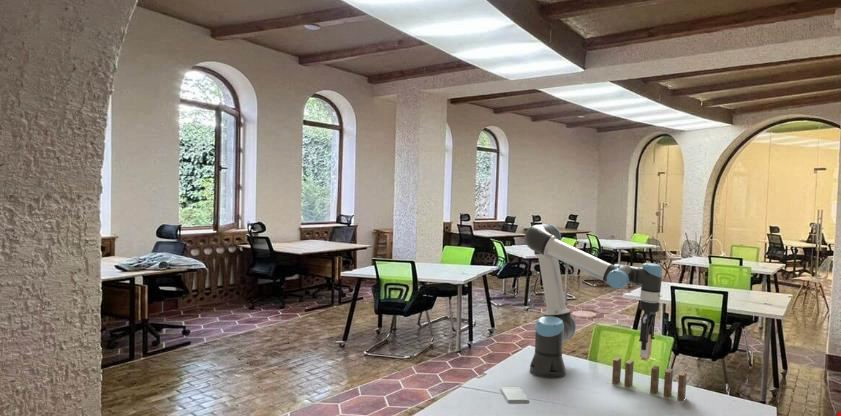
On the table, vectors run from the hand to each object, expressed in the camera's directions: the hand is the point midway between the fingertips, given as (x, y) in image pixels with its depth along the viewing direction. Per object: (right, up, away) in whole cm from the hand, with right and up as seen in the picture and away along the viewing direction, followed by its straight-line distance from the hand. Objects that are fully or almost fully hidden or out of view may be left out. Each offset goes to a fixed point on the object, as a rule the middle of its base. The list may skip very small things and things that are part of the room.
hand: (645, 355), depth 222 cm
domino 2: (-8, -11, -3) cm, 15 cm away
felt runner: (-3, -12, -7) cm, 14 cm away
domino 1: (-12, -11, 0) cm, 17 cm away
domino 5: (+3, -12, -13) cm, 18 cm away
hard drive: (-58, -11, -17) cm, 62 cm away
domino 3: (0, -1, 0) cm, 1 cm away
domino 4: (-1, -12, -9) cm, 15 cm away
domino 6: (+7, -13, -16) cm, 21 cm away
